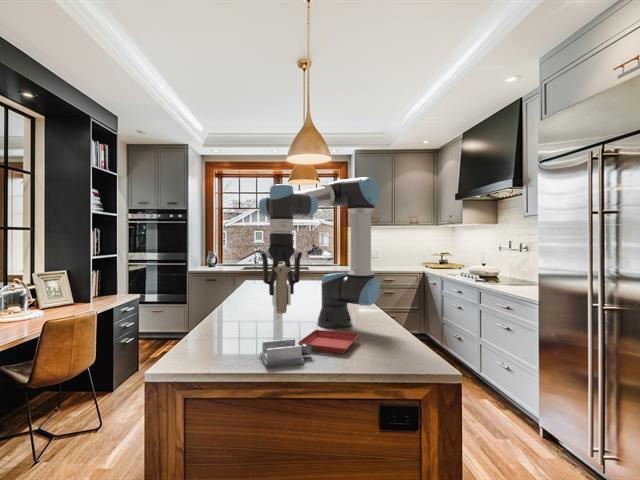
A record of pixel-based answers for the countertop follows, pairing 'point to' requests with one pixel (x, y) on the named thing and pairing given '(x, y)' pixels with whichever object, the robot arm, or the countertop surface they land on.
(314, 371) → the countertop surface
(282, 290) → the handle
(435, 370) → the countertop surface
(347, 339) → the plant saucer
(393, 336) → the countertop surface
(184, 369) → the countertop surface
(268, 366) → the valve body
